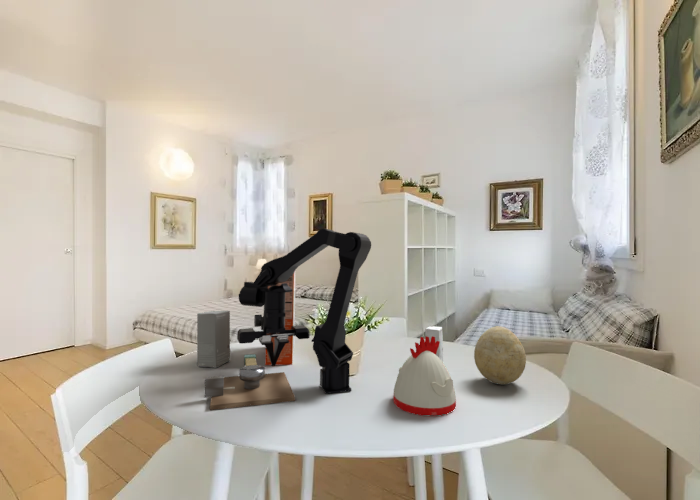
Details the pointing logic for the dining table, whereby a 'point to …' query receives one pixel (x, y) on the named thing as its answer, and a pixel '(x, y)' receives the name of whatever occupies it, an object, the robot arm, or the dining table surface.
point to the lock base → (247, 391)
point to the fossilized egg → (500, 355)
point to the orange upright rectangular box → (286, 325)
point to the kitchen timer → (424, 382)
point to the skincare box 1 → (213, 338)
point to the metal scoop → (251, 369)
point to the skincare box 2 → (436, 338)
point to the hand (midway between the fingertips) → (273, 365)
